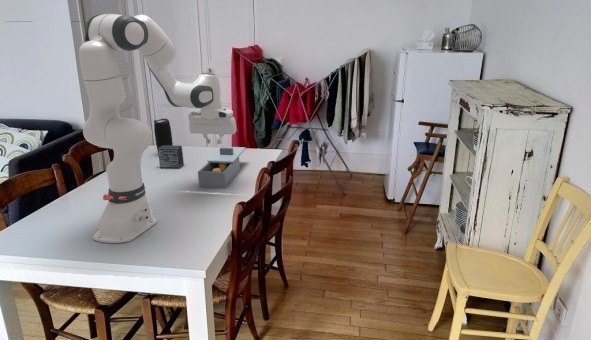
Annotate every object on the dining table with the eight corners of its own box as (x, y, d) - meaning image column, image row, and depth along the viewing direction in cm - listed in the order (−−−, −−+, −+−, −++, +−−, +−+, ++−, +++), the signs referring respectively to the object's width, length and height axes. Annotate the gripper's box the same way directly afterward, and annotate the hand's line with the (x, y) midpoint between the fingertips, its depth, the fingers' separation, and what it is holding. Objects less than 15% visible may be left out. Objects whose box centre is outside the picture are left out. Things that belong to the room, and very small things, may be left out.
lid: (232, 163, 186) (232, 155, 184) (207, 162, 188) (206, 154, 186) (245, 148, 206) (245, 141, 205) (222, 148, 208) (222, 140, 207)
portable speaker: (168, 151, 232) (163, 117, 226) (177, 154, 226) (173, 119, 220) (154, 154, 226) (149, 120, 220) (163, 158, 221) (158, 122, 214)
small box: (184, 164, 211) (182, 145, 207) (180, 168, 205) (177, 148, 201) (164, 164, 212) (162, 144, 208) (159, 168, 206) (156, 148, 202)
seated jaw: (226, 176, 190) (225, 164, 188) (218, 176, 191) (217, 164, 189) (228, 173, 194) (227, 161, 192) (221, 173, 194) (220, 161, 192)
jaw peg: (222, 180, 185) (221, 168, 183) (220, 183, 182) (219, 171, 180) (215, 180, 186) (214, 167, 184) (212, 183, 183) (211, 170, 181)
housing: (226, 190, 177) (224, 173, 175) (199, 189, 179) (197, 171, 177) (240, 172, 198) (239, 156, 195) (216, 171, 200) (214, 156, 197)
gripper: (185, 113, 172) (188, 144, 177) (232, 114, 169) (234, 146, 173) (190, 110, 178) (194, 140, 182) (236, 110, 175) (238, 142, 179)
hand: (214, 143), depth 178 cm, fingers open, 4 cm apart
